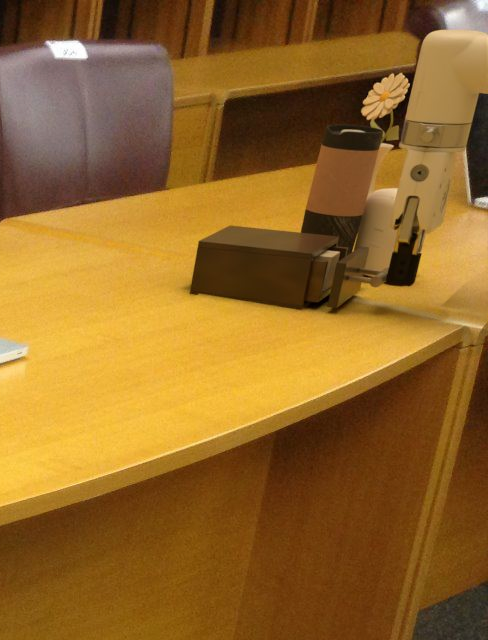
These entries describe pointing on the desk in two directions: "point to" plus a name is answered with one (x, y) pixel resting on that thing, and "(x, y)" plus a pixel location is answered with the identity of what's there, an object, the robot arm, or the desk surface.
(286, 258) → the cabinet
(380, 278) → the drawer
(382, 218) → the photo printer
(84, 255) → the desk surface
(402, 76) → the flower in vase
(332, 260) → the block
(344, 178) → the travel mug
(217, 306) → the desk surface
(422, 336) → the desk surface
